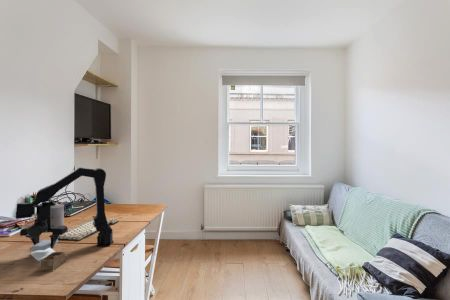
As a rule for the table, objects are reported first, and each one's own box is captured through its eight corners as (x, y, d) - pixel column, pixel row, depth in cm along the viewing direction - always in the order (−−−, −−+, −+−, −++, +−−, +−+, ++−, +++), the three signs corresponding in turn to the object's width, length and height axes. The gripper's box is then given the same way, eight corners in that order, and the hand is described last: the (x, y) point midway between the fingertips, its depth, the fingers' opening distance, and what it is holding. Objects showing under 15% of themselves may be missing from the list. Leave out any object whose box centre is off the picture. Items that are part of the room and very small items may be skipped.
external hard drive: (50, 250, 133) (59, 257, 125) (30, 255, 126) (38, 263, 118) (50, 247, 133) (59, 253, 125) (30, 252, 126) (38, 259, 118)
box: (64, 261, 118) (64, 251, 118) (53, 271, 110) (53, 260, 109) (53, 262, 118) (53, 252, 118) (40, 271, 109) (40, 260, 109)
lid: (58, 241, 130) (57, 239, 130) (44, 250, 120) (44, 247, 120) (44, 242, 130) (44, 239, 130) (29, 250, 120) (29, 247, 120)
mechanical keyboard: (84, 242, 143) (84, 236, 143) (52, 241, 146) (52, 235, 145) (119, 222, 181) (119, 217, 181) (93, 221, 183) (93, 216, 183)
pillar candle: (42, 228, 165) (42, 204, 165) (58, 224, 174) (58, 201, 174) (51, 231, 161) (51, 206, 160) (67, 226, 169) (67, 203, 169)
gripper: (10, 220, 116) (11, 256, 117) (54, 220, 117) (54, 255, 118) (28, 214, 128) (28, 246, 128) (67, 213, 128) (68, 245, 129)
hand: (44, 248), depth 125 cm, fingers closed on lid, 6 cm apart
